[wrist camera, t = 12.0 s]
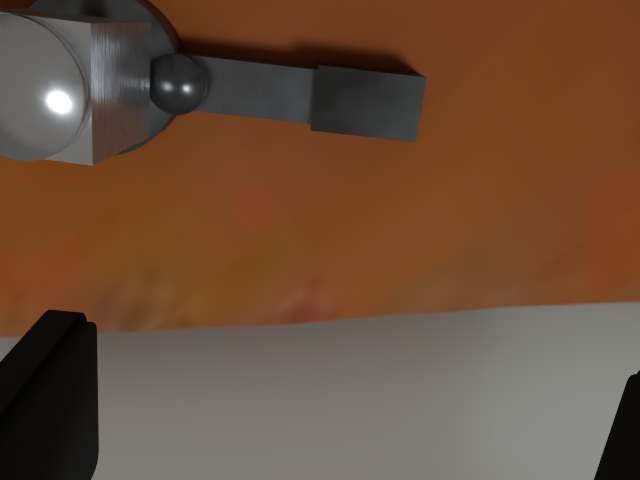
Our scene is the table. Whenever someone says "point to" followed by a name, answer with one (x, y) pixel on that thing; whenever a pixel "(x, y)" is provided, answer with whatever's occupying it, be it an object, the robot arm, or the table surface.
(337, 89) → the ratchet
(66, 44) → the domed grey cube
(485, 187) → the table surface
